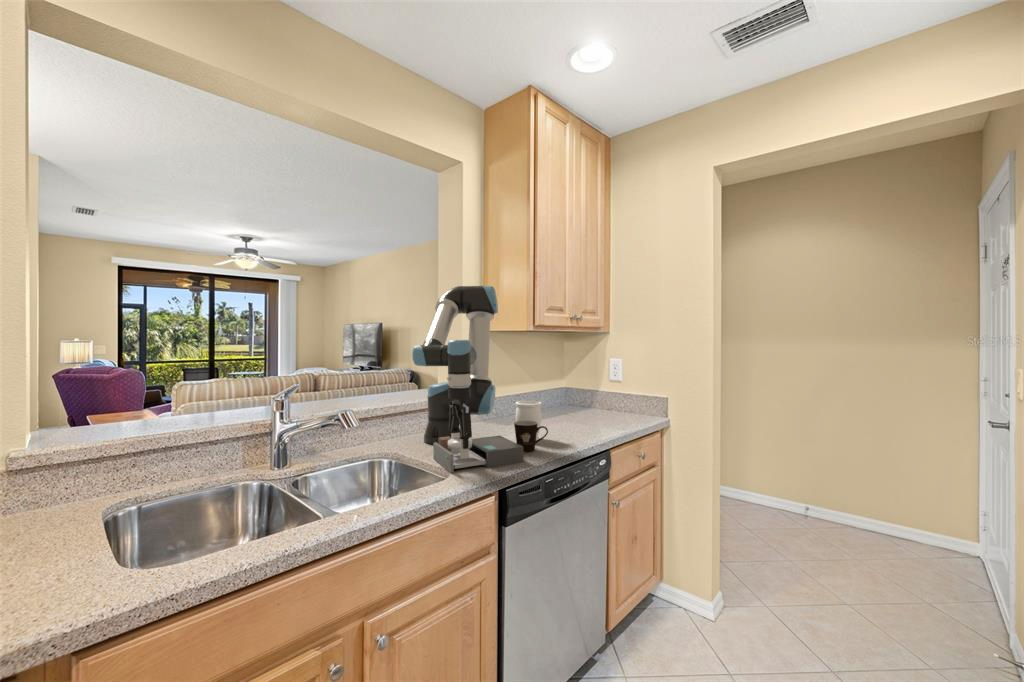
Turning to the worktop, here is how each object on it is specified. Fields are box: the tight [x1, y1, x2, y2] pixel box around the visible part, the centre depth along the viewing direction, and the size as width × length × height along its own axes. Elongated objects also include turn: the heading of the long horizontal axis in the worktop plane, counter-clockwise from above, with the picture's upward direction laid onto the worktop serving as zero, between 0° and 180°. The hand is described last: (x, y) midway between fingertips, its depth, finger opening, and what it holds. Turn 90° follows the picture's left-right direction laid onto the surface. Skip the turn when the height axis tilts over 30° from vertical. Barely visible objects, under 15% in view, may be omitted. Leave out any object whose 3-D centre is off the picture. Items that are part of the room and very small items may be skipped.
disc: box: [448, 438, 472, 450], centre depth 149 cm, size 8×8×2 cm
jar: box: [515, 400, 543, 441], centre depth 181 cm, size 11×10×15 cm
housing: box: [469, 434, 524, 468], centre depth 154 cm, size 18×13×5 cm
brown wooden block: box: [439, 436, 452, 452], centre depth 158 cm, size 4×4×6 cm
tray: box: [432, 442, 486, 474], centre depth 149 cm, size 17×13×6 cm
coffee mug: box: [513, 421, 549, 453], centre depth 164 cm, size 12×9×10 cm
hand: (460, 455), depth 149 cm, fingers closed on disc, 8 cm apart
